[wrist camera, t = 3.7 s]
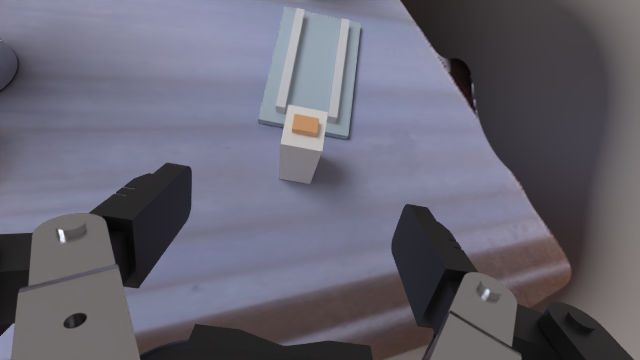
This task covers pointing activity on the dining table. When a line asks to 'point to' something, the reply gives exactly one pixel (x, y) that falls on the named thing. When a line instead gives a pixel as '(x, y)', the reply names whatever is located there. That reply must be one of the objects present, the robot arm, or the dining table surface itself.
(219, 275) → the dining table surface
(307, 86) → the mounting board
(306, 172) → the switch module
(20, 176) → the dining table surface
